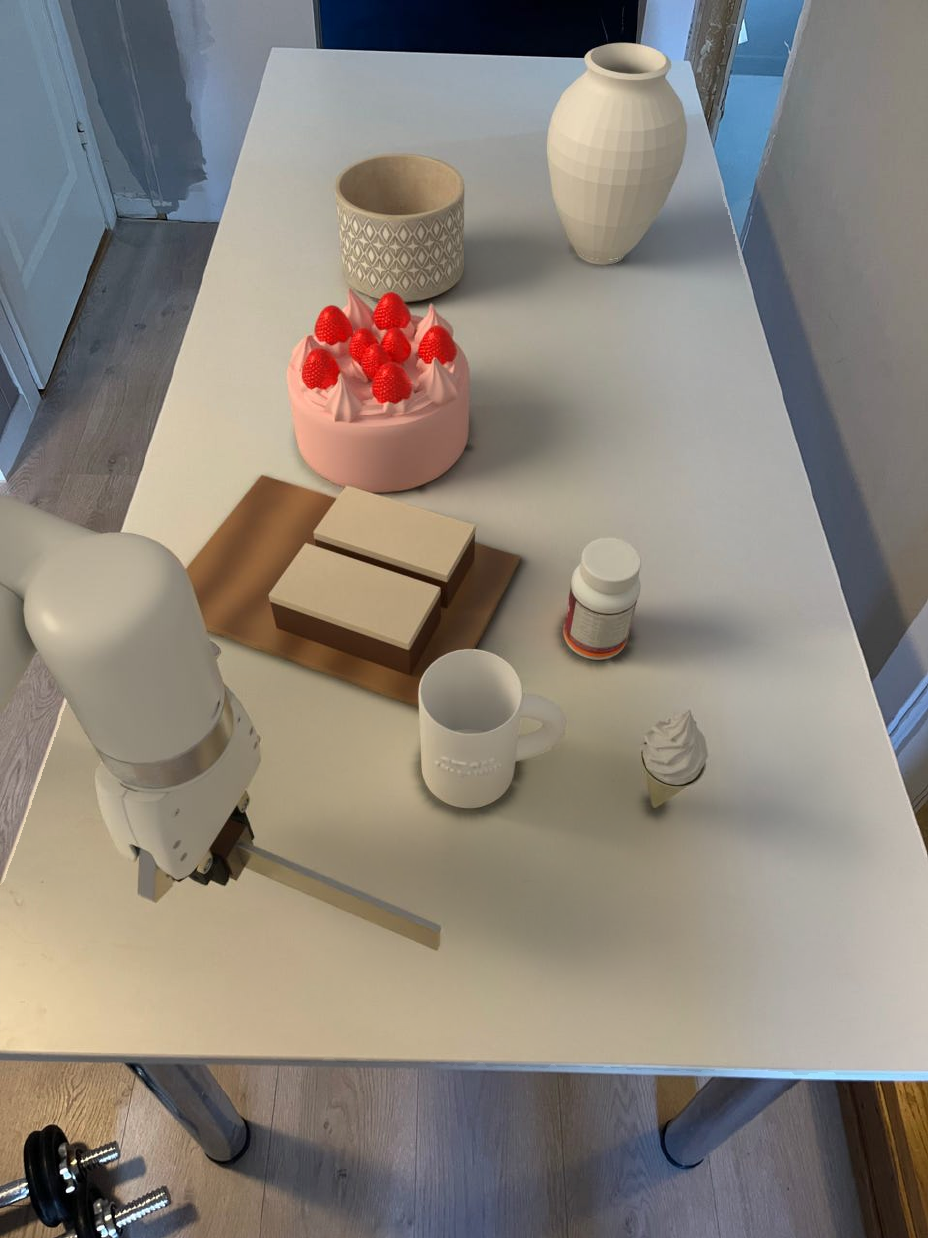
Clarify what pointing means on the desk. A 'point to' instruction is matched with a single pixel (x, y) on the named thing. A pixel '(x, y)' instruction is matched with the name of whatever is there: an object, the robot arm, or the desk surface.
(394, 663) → the cake
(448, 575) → the cake
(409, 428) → the cake
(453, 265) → the planter
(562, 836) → the desk surface
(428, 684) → the mug
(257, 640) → the cake board
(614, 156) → the vase
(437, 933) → the knife
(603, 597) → the pill bottle
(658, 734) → the ice cream cone
